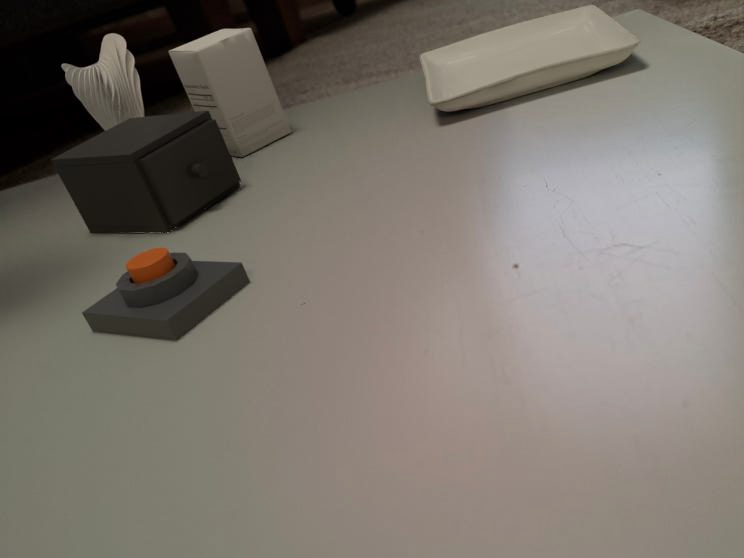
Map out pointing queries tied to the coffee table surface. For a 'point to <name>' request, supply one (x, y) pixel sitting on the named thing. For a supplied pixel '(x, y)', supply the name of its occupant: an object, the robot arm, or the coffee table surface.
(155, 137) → the grey drawer box
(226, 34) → the rectangular carton
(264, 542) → the coffee table surface
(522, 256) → the coffee table surface
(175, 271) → the control block
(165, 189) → the pull-out drawer with knob
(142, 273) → the button
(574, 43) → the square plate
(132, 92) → the shell sculpture
